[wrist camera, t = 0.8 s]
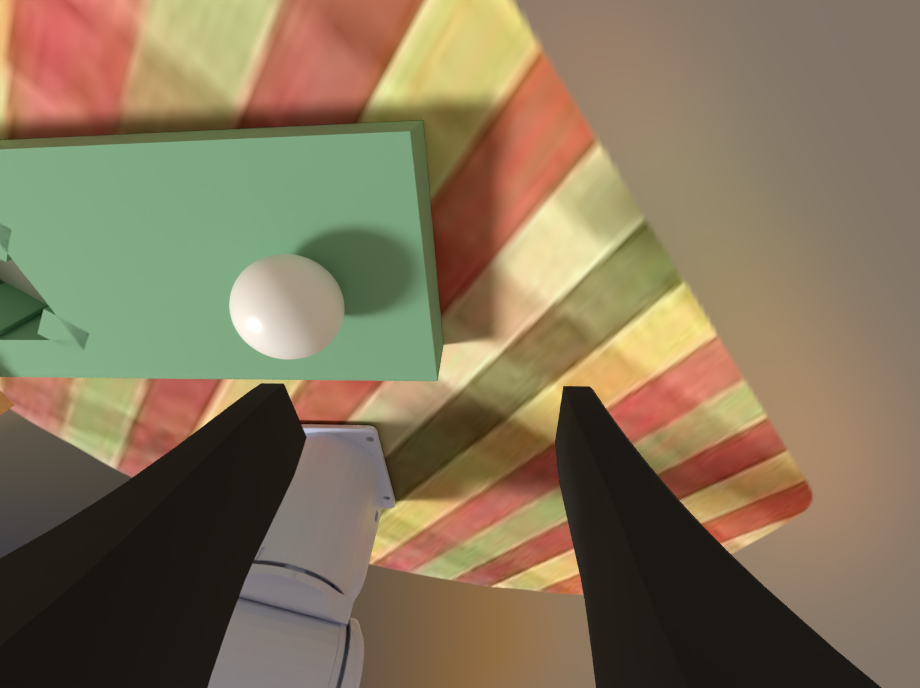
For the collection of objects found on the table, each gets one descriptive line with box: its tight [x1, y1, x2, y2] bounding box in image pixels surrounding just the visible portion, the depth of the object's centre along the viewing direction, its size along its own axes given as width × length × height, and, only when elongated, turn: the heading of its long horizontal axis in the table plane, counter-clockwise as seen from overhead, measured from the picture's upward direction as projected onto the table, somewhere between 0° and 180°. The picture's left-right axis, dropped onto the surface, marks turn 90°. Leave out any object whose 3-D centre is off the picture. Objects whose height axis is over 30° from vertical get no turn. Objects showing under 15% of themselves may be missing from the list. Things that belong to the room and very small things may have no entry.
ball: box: [229, 254, 345, 360], centre depth 15 cm, size 4×4×4 cm
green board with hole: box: [0, 120, 443, 415], centre depth 18 cm, size 13×26×5 cm, turn 93°
